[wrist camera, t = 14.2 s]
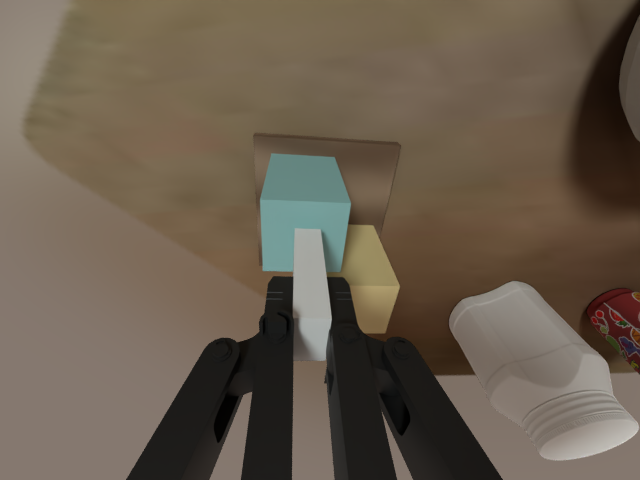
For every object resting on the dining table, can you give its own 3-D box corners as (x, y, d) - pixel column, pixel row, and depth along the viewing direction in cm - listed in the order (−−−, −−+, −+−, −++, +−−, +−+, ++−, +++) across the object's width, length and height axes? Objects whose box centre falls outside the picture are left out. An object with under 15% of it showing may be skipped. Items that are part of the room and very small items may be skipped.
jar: (455, 345, 41) (524, 473, 29) (441, 306, 36) (516, 439, 24) (538, 318, 39) (651, 443, 27) (535, 271, 34) (673, 399, 22)
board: (255, 132, 23) (253, 135, 22) (397, 142, 24) (401, 145, 23) (260, 259, 30) (259, 265, 29) (370, 262, 31) (372, 267, 31)
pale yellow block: (320, 223, 27) (328, 285, 20) (373, 225, 28) (400, 286, 20) (316, 266, 30) (322, 333, 23) (364, 267, 30) (385, 333, 23)
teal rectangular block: (271, 153, 23) (259, 199, 16) (334, 157, 24) (351, 203, 16) (272, 210, 26) (263, 270, 19) (328, 212, 26) (340, 272, 19)
